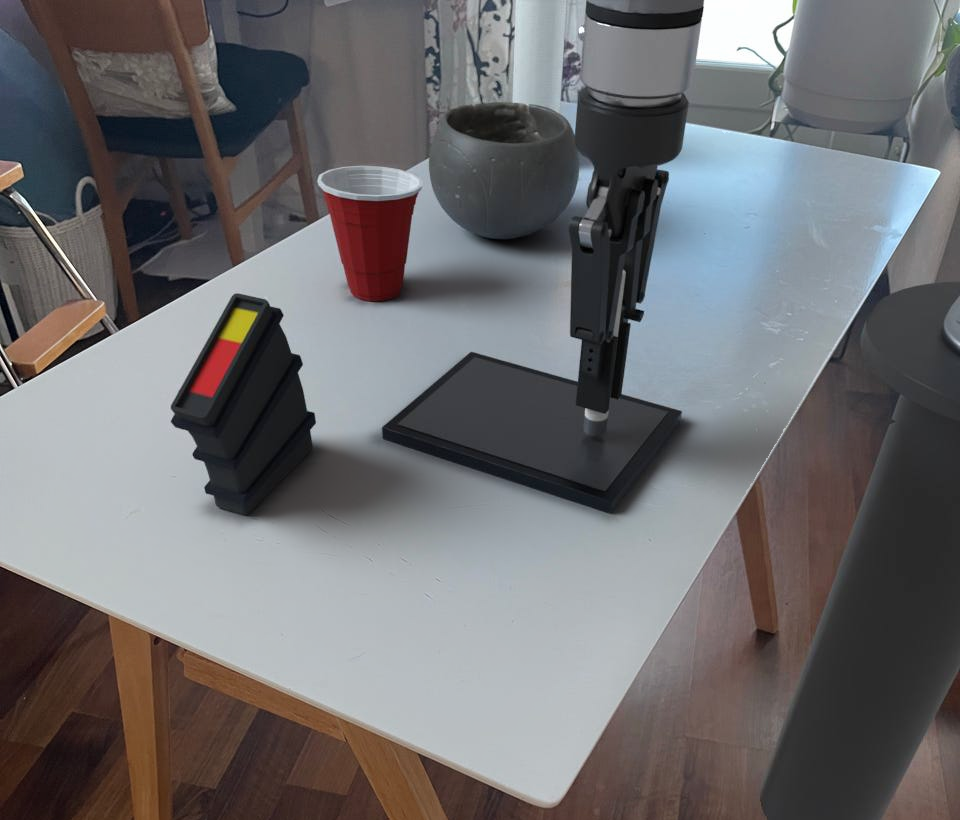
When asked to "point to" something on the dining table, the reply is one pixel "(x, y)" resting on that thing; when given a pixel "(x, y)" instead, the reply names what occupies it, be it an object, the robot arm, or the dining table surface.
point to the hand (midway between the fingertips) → (598, 399)
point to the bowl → (503, 167)
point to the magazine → (245, 405)
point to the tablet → (532, 430)
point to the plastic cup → (371, 225)
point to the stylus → (598, 421)
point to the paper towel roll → (539, 52)
